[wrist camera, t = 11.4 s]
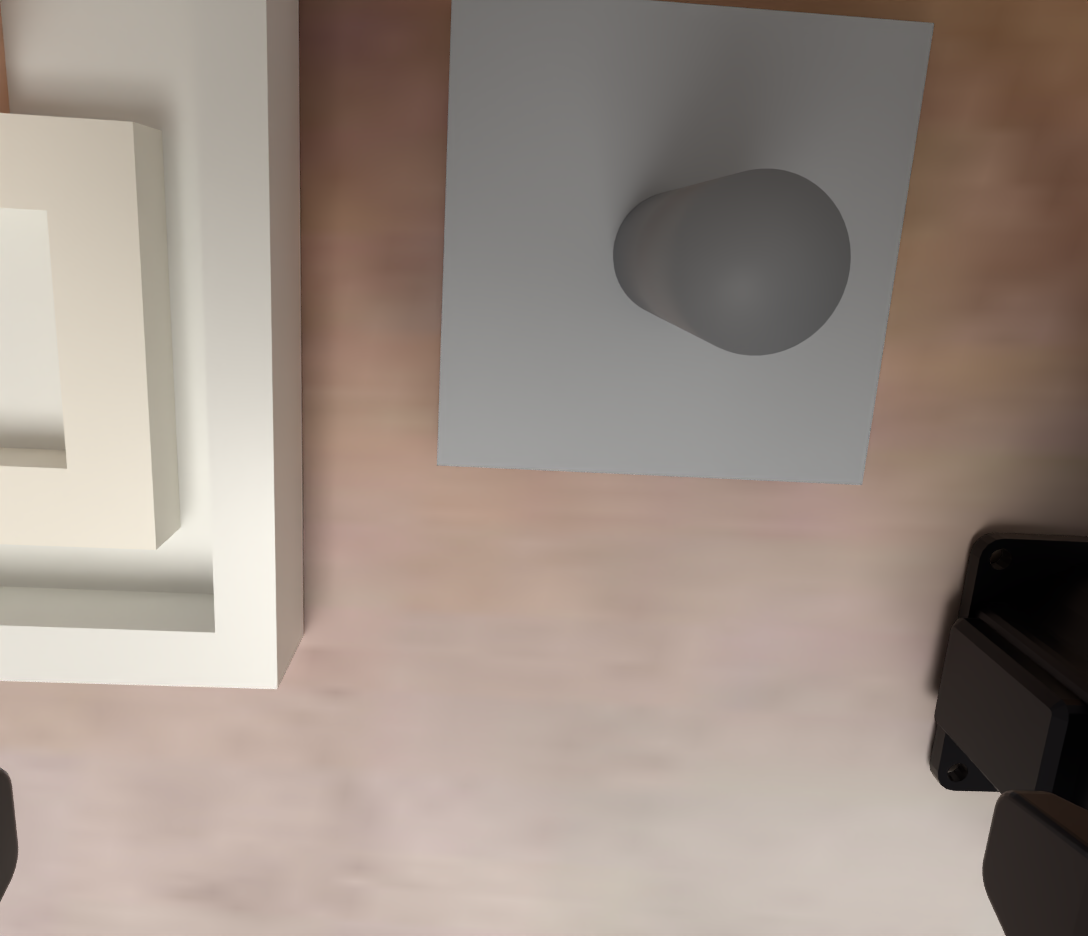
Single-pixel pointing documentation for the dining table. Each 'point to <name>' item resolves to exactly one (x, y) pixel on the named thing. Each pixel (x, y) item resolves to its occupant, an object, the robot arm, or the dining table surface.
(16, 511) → the ring
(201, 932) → the dining table surface
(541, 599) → the dining table surface
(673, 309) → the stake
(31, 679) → the tray
